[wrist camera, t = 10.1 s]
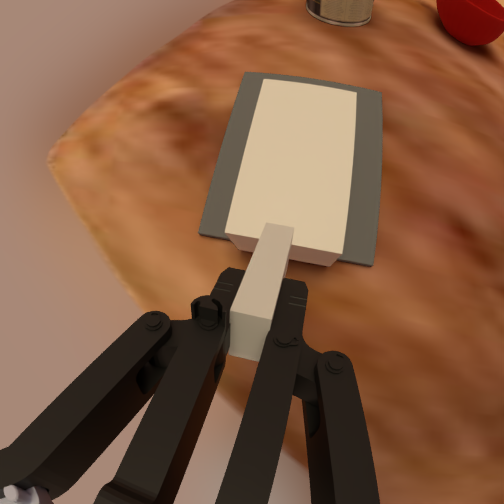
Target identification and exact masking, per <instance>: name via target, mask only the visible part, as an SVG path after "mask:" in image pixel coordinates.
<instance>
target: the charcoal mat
mask: <svg viewBox="0 0 504 504" xmlns="http://www.w3.org/2000/svg"><path fill="white" fill-rule="evenodd" d="M264 79H272V80H282V81H290V82H298V83H306V84H312V85H319V86H325V87H331V88H336V89H342V90H347V91H352V92H356V93H357V99H356V124H355V141H354V155H353V167H352V178H351V188H350V198H349V207H348V215H347V223H346V231H345V238H344V245H343V252H342V255H341V256H340V257H339V258H338V259H337V260H338V261H343V262H349V263H354V264H359V265H364V266H370V267H371V266H373V263H374V255H375V247H376V238H377V229H378V218H379V207H380V192H381V174H382V92H378V91H374V90H370V89H365V88H361V87H356V86H351V85H347V84H341V83H336V82H330V81H325V80H318V79H312V78H305V77H297V76H289V75H280V74H269V73H256V72H245V73H244V76H243V79H242V82H241V85H240V88H239V91H238V94H237V97H236V100H235V104H234V107H233V110H232V113H231V116H230V120H229V123H228V126H227V129H226V133H225V136H224V139H223V143H222V146H221V150H220V153H219V157H218V160H217V164H216V167H215V171H214V174H213V178H212V182H211V185H210V189H209V193H208V196H207V200H206V204H205V208H204V212H203V215H202V219H201V223H200V227H199V231H198V233H199V234H200V235H203V236H208V237H214V238H219V239H225V240H230V239H229V237H228V236H227V235H226V234H225V228H226V224H227V220H228V216H229V211H230V207H231V203H232V199H233V195H234V191H235V187H236V183H237V179H238V175H239V171H240V167H241V163H242V159H243V155H244V151H245V147H246V143H247V139H248V135H249V132H250V128H251V124H252V120H253V116H254V113H255V109H256V105H257V102H258V98H259V94H260V91H261V87H262V83H263V80H264ZM230 241H231V240H230Z"/></svg>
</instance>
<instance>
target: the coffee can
mask: <svg viewBox="0 0 504 504" xmlns="http://www.w3.org/2000/svg"><path fill="white" fill-rule="evenodd" d="M373 2H374V0H307V3H306V9H307V11H308V12H309V13H310V14H311V15H312V16H313V17H315V18H317V19H319V20H321V21H323V22H326V23H329V24H333V25H338V26H346V27H350V26H352V27H354V26H361V25H364V24H366V23H368V22H369V21H370V19H371V12H372V7H373Z"/></svg>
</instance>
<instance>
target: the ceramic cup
mask: <svg viewBox="0 0 504 504" xmlns="http://www.w3.org/2000/svg"><path fill="white" fill-rule="evenodd" d="M437 9H438V13H439V16H440V19H441V21H442V23H443V25H444V28H445V29H446V31H447V32H448V33H449V34H450V35H451V36H453V37H454V38H455V39H457V40H458V41H460V42H462V43H464V44H466V45H469V46H474V45H484V44H488V43H490V42H492V41H494V40H495V39H497V38H498V37H499V36H500V35H501V34H502V33H503V32H504V8H503V7H502V6H501V4H499V3H498V2H497V1H496V0H437Z"/></svg>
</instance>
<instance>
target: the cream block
mask: <svg viewBox="0 0 504 504" xmlns="http://www.w3.org/2000/svg"><path fill="white" fill-rule="evenodd" d="M356 99H357V93H356V92H352V91H347V90H342V89H336V88H331V87H325V86H319V85H312V84H306V83H298V82H290V81H282V80H272V79H264V80H263V83H262V87H261V91H260V94H259V98H258V102H257V105H256V109H255V113H254V116H253V120H252V124H251V128H250V132H249V135H248V139H247V143H246V147H245V151H244V155H243V159H242V163H241V167H240V171H239V175H238V179H237V183H236V187H235V191H234V195H233V199H232V203H231V207H230V211H229V216H228V220H227V224H226V228H225V234H226V235H227V236H228V237H229V239H230V240H231V241H232V242H233V244H234V245H235V246H236V247H237V249H238V250H243V251H248V252H254V251H255V248H256V246H257V243H258V241H259V238H260V236H261V234H262V231H263V229H264V226H265V224H266V222H267V223H273V224H278V225H284V226H289V227H294V233H293V239H292V244H291V250H290V256H289V259H291V260H296V261H302V262H307V263H313V264H318V265H323V266H329V267H330V266H331V265H332V264H333V263H334V262H335V261H336V260H337V259H338V258H339V257H340V256H341V255H342V252H343V245H344V238H345V231H346V223H347V215H348V207H349V198H350V188H351V178H352V167H353V155H354V141H355V124H356Z"/></svg>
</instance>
